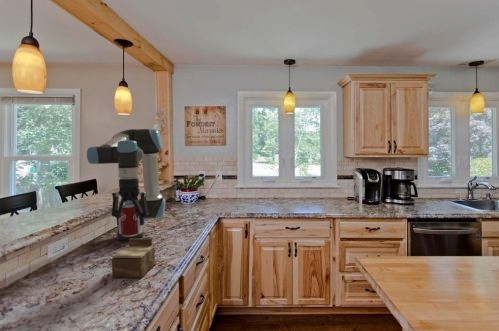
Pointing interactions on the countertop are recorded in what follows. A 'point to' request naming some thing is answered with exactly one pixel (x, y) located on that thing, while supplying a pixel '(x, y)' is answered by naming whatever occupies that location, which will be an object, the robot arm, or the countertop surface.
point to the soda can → (129, 220)
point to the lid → (135, 248)
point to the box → (133, 266)
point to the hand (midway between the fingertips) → (131, 232)
